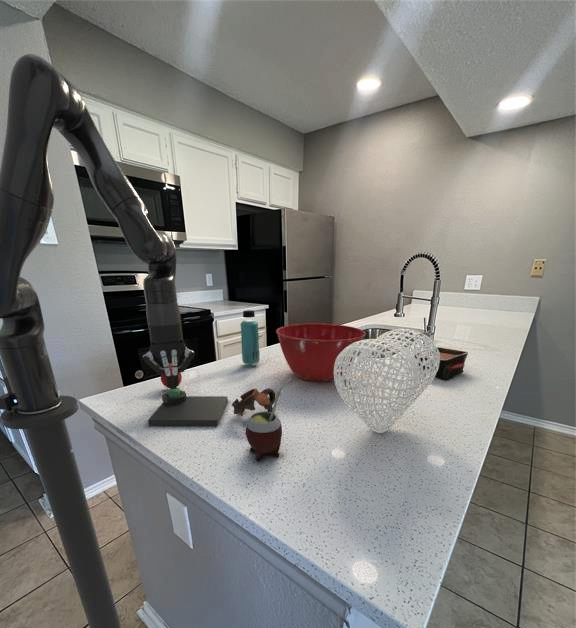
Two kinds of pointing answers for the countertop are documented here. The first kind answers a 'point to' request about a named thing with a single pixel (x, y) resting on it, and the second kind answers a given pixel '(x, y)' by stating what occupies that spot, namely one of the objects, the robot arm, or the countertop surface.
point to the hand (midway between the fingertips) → (173, 387)
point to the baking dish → (448, 363)
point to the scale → (189, 410)
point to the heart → (414, 387)
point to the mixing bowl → (316, 348)
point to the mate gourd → (265, 431)
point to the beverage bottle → (249, 339)
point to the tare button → (173, 392)
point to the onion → (164, 380)
